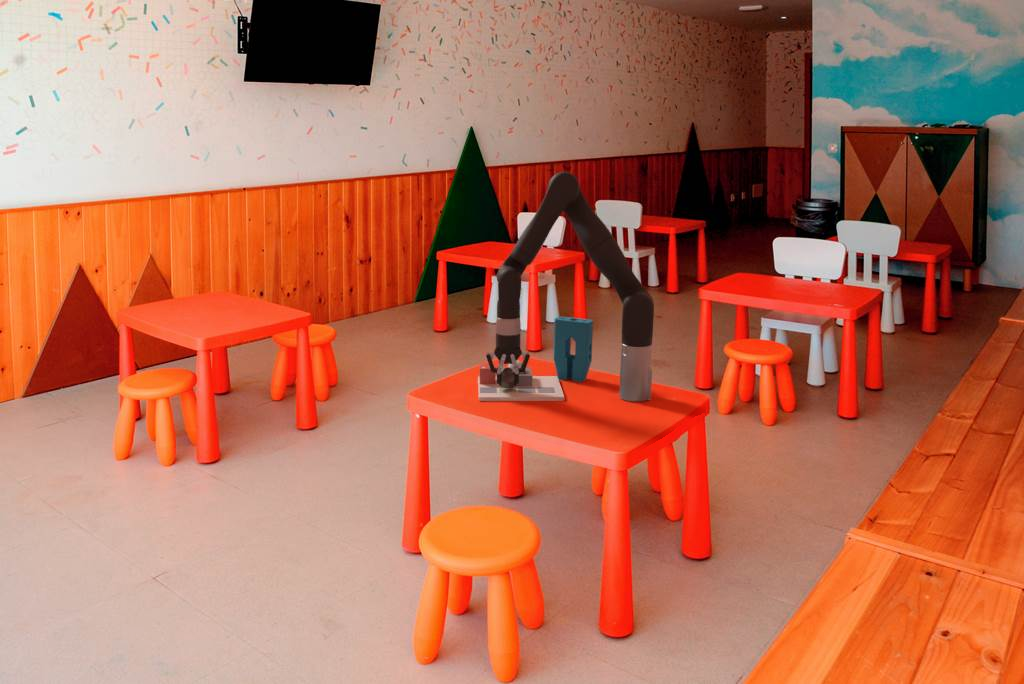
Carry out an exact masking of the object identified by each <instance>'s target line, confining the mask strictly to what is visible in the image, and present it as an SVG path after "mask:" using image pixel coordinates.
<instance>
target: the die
mask: <svg viewBox="0 0 1024 684" xmlns="http://www.w3.org/2000/svg"><path fill="white" fill-rule="evenodd" d="M494 367H495V368H497V367H496V365H495V364H494ZM479 376H480V384H496V376H497V374H496V373H494V372H491V369H490V366H489V364H479Z"/></svg>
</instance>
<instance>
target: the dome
mask: <svg viewBox="0 0 1024 684" xmlns="http://www.w3.org/2000/svg"><path fill="white" fill-rule="evenodd" d="M516 362H517V366H518V368H520V367H521V365H522V362H523V361H521V360H517V361H516ZM507 367H509V368H511V369H512V370H513V371H514V367H513V364H508V365H507ZM514 372H515V371H514ZM519 374H524V372H521V373H519Z"/></svg>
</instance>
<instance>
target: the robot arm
mask: <svg viewBox="0 0 1024 684" xmlns="http://www.w3.org/2000/svg"><path fill="white" fill-rule="evenodd" d="M562 213H564V214H565V215H566V217H567V218H568V220H569V221H570V223H571V225H572V227H573V229H574V231H575V233H576V236H577V238H578V241H579V242H580V244H581V246H582V247H583V249H584V251H585V253H586V255H588V257H589V259H590V260H591V262H592V263H593V265H594V266H595V267H596V269H598V272H599V271H600V273H601V274H602V275H603V276H604V277H605V278H606V279H607V280H608V281H609V283H610V284H611V285H612V286H613V289H614V290H615V292H616V294H617V295H618V298H619V299H620V302H621V303H622V316H621V317H622V319H621V344H620V345H621V347H620V349H621V350H620V366H619V367H620V370H619V390H618V392H619V394H618V398H620V399H622V400H625V401H628V402H645V401H651V398H652V381H653V380H652V379H653V369H652V367H651V366H652V353H653V351H652V350H653V349H652V348H653V337H654V320H655V319H654V318H655V317H654V315H655V301H654V298H653V297H652V295H651V294H650V293H649V291H648V290H647V289H646V288H645V286H643V284H642V282H640V280H639V279H638V278H637V276H636V275H635V273H634V272H633V270H632V268H631V266H630V264H629V262H628V260H627V258H626V256H625V254H624V252H623V250H621V247H620V245H619V243H618V242H617V240H616V239H615V237H614V235H612V232H611V231H610V230H609V228H608V227H607V225H606V224H605V223H604V222H603V220H602V219H601V218H600V217H599V216H598V215H597V213H596V212H594V210H593V209H592V207H591V206H590V204H589V202H588V201H587V199H586V197H585V195H584V192H583V191H582V189H581V187H580V183H579V180H578V179H577V177H576V176H575V175H574V174H573V173H571V172H568V171H560V172H557V173H555V174H554V175H553V176H552V177H551V178H550V180H549V182H548V185H547V190H546V192H545V195H544V198H543V200H542V202H541V204H540V206H539V207H538V209H537V211H536V213H535V214H534V216H533V218H532V219H531V220H530V222H529V223H528V225H527V226H526V227H525V229H524V230H523V232H522V234H521V235H520V236H519V238H518V239H517V242H515V243H516V244H515V245H514V247H513V248H512V251H511V252H510V254H509V255H508V256H507V257H506V259H504V261H503V262H502V264H501V266H500V267H499V268H498V270H497V274H496V281H497V289H498V291H497V293H498V297H497V298H498V300H497V303H496V321H495V349H494V351H491V352H486V354H485V355H486V360H487V364H488V365H489V366H490V369H491V372H494V373H496V376H497V384H499V386H501V370H502V368H503V367H504V365H507V364H508V365H509V364H513V367H514V371H515V374H514V386H517V384H518V383H519V373H521V372H524V371H525V369H526V367H528V363H529V359H530V357H531V355H530V352H525V351H522V348H521V331H522V329H521V328H522V327H521V324H522V323H521V302H520V299H521V292H522V275H523V273H524V271H526V269H527V267H528V266H529V265H532V262H533V261H534V260H535V259H536V257H537V256H538V254H539V252H540V250H541V249H542V247H543V245H544V243H545V241H546V240H547V238H548V236H549V234H550V232H551V230H552V228H553V227H554V225H555V223H556V222H557V221H558V219H559V217H560V216H561V215H562ZM494 357H496V358H497V360H498V364H497V367H496V366H495V367H496V368H495V367H494V365H495V364H494V362H493V360H494V359H495V358H494ZM520 357H522V361H521V362H522V365H521V367H520V368H518V366H517V362H516V361H517V360H518V359H520ZM518 361H519V360H518Z"/></svg>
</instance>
